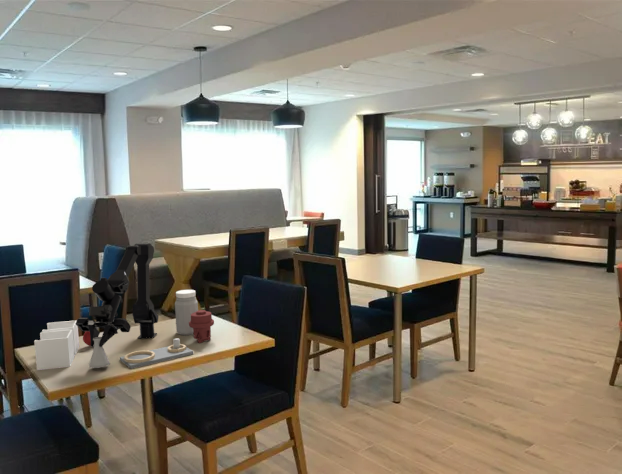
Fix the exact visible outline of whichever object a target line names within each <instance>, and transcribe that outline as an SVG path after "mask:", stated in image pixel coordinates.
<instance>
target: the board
mask: <svg viewBox="0 0 622 474" xmlns="http://www.w3.org/2000/svg"><path fill="white" fill-rule="evenodd" d="M172 340H173V341H172V343H173V344H171V345H167V346H162V347H159V348H155V349H151V350H150V349H149V350H146V349H145V350H136V351H133V352H132V351H131V352H129V353H127V354H125V355H123V356H122V355H121V356H119V361H120V362H122V363H123V364H124V365H125V366H127V367H128V368H129V369H131V370H132V369H136V368H140V367H144V366H148V365H153V364H157V363H161V362H165V361H166V362H167V361H170V360H175V359H179V358H182V357H187V356H190V355H194V350H192V349H190V348H189V347H187V345H185V344H181V343H180V342H181V340H180V338H173V339H172Z"/></svg>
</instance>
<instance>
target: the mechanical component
mask: <svg viewBox="0 0 622 474" xmlns="http://www.w3.org/2000/svg"><path fill="white" fill-rule="evenodd" d="M212 317H213V316H212V312H211V311H207V310H205V309H200V310H199V309H198V311H196V312H194V313H192V314H191V321H190V322H189V326H190V327H191V328H193V334H192V336H193V339H195V340H197V343H199V344H202V343H203V342H207V341H210V340H211V337H212V331H211V328H212V327H213V326H214V325H215V321H214V319H213V318H212Z"/></svg>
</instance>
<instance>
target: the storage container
mask: <svg viewBox="0 0 622 474" xmlns="http://www.w3.org/2000/svg"><path fill="white" fill-rule="evenodd" d="M76 321H77V319H76V320H69V321H65V320H64V321H54V322H53V321H52V322H47V323H46V326H47V329H42V331H41V332H40V333H39V336H40V337H39V338H40V339H39V340H38V339H35V340H34V341H33V343H34V351H35V362H36V371H41V370H42V371H43V370H50V369H52V370H53V369H62V368H69V367H72V366H71V365H72V363H73V362H74V361H73V360H74V359H75V356H76V354H77V352H78V350H79V349H80V348H79V347H80V337H79V327H78V326H77V325H76Z"/></svg>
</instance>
